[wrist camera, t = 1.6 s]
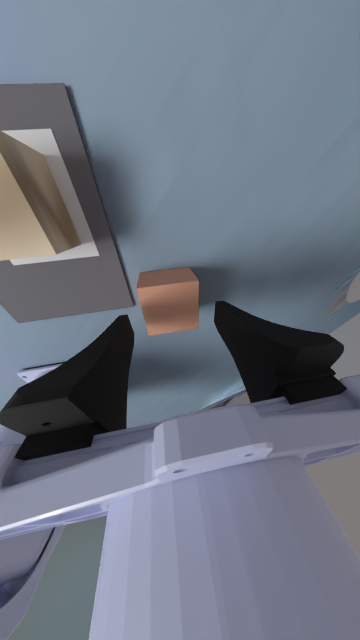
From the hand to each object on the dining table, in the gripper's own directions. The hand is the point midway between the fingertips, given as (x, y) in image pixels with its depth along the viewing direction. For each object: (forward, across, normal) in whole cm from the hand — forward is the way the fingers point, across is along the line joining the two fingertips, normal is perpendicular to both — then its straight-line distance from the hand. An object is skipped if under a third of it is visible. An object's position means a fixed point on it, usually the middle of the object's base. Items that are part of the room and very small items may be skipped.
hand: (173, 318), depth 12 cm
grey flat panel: (+5, +10, -6) cm, 13 cm away
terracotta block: (+5, 0, 0) cm, 5 cm away
